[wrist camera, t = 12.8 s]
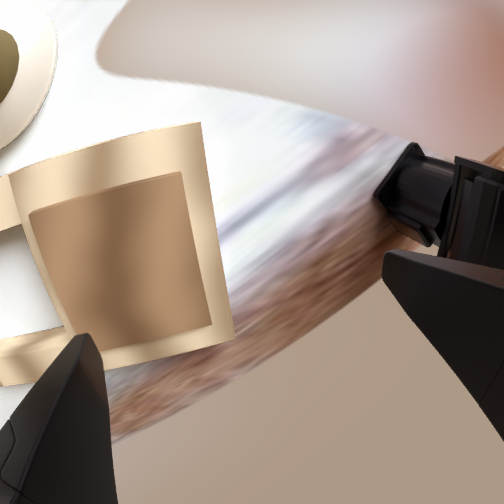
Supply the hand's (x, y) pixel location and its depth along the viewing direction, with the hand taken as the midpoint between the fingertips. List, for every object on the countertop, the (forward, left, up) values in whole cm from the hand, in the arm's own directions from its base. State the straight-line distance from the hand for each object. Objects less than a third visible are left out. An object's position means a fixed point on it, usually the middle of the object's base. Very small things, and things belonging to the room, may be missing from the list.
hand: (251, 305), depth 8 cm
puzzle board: (+9, -5, -13) cm, 17 cm away
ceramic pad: (+1, -17, -13) cm, 21 cm away
